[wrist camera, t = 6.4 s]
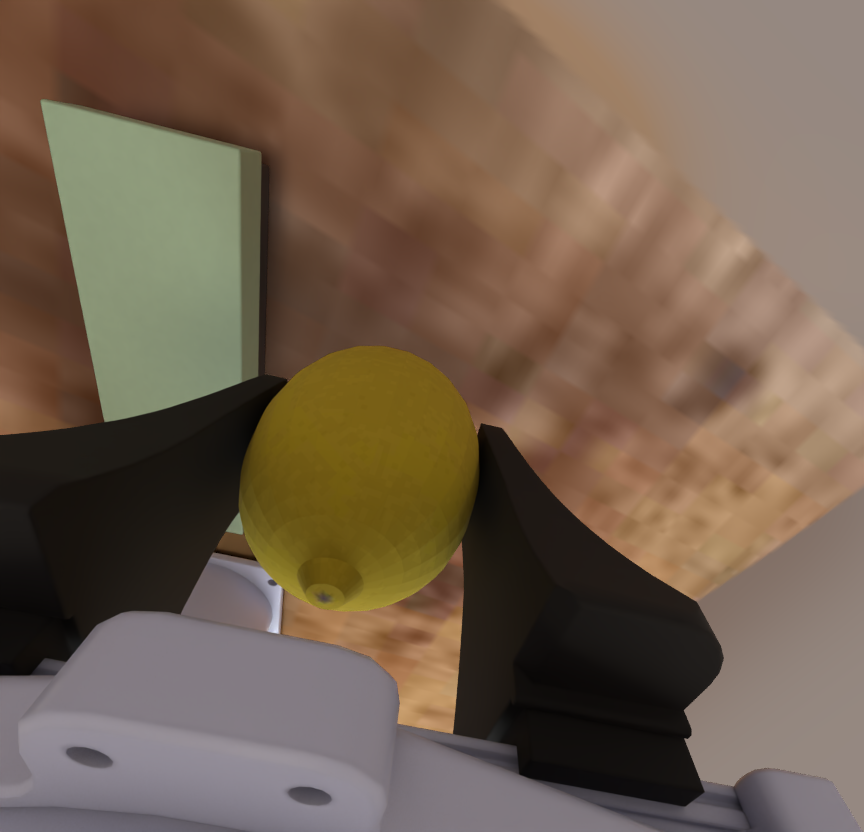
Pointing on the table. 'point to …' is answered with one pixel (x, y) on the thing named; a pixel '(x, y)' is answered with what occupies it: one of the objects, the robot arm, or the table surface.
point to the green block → (162, 256)
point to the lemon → (360, 479)
